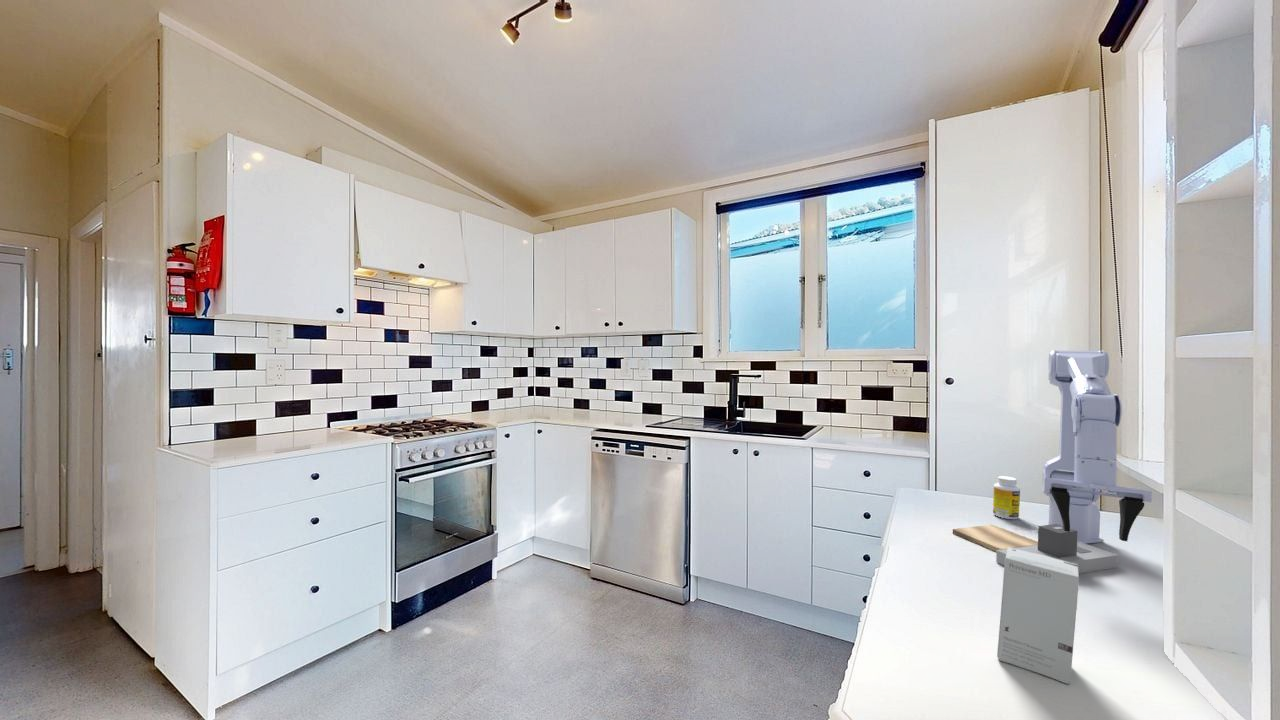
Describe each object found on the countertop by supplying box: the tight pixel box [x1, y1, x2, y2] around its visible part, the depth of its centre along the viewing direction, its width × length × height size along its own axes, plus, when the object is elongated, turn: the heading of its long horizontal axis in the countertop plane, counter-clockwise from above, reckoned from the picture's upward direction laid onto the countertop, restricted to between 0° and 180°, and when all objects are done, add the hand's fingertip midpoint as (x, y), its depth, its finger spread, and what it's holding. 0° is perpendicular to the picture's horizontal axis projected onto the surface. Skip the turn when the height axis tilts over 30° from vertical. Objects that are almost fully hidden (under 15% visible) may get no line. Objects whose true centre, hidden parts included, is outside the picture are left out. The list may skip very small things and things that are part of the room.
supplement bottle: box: [992, 475, 1021, 520], centre depth 132 cm, size 6×6×10 cm
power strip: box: [995, 541, 1119, 574], centre depth 103 cm, size 22×8×3 cm, turn 106°
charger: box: [1037, 524, 1078, 558], centre depth 103 cm, size 5×4×8 cm
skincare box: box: [996, 548, 1080, 685], centre depth 71 cm, size 8×6×15 cm
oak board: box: [952, 524, 1038, 553], centre depth 116 cm, size 12×12×1 cm
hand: (1094, 535), depth 91 cm, fingers open, 7 cm apart
